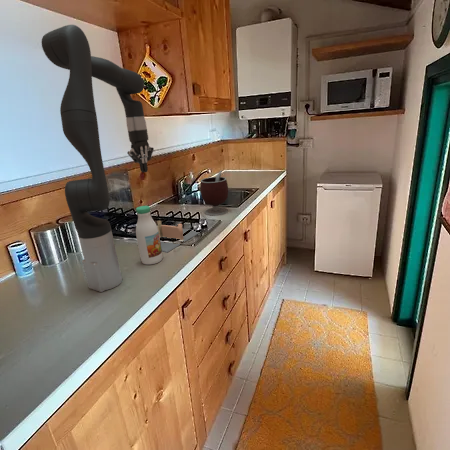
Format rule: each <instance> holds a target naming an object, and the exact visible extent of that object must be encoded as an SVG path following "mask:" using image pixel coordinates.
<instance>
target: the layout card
mask: <svg viewBox="0 0 450 450" xmlns="http://www.w3.org/2000/svg"><path fill="white" fill-rule="evenodd" d="M182 229H183V234H184V233H185V232H186V231H188V230H190V229H189V228H188V229H187V228H183V227H182ZM192 230H193V229H192ZM196 231H197V230H195V231H194V230H193V231H190V232H189V233H188V234H187V235H185V236H184V239H182V240H180V241H182V242H183V241H184V243H186V242H188V241H189V240H191V239H192V238H194V237H196V236H198V235H199V234H201V233H202V231H201V230H200V232H201V233H200V232H196ZM167 238H169V237H167ZM185 241H186V242H185ZM160 243H161V249H162V253H165V254H166V253H167V254H168V253H169V252H171V251H172V250H174V249H176V248H178V247H179V246H181V245H180V244H173V243H164V242H160Z"/></svg>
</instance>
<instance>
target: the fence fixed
mask: <svg viewBox="0 0 450 450" xmlns="http://www.w3.org/2000/svg"><path fill="white" fill-rule="evenodd" d="M156 222H157V223H156V224H157V228H158V232H159V237H163V234H162V228H161V225H163V224H162V220H157V221H156Z"/></svg>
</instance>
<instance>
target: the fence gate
mask: <svg viewBox="0 0 450 450" xmlns="http://www.w3.org/2000/svg"><path fill="white" fill-rule="evenodd" d="M161 228H162V234H163V237H169V238H176V239H180V240H182V239H184V236H183V229H184V228H183V224H182V223H178V224H177V226H175V225H166V224H162V225H161ZM182 228H183V229H182Z"/></svg>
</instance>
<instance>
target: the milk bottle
mask: <svg viewBox="0 0 450 450" xmlns="http://www.w3.org/2000/svg"><path fill="white" fill-rule="evenodd" d="M135 210H136V211H135V212H136V215H137V222H136V226H135V236H136V241H137V247H138V252H139V256H140V257H139V258H140V262H141V263H142V264H144V265H154V264H157V263H160V262H161V261H162V260H163V258H164V256H163V252H162V249H161V243H160V237H159V232H158V228H157V226H158V224H157V223H156V222H155V221H154V219H153V217H152V215H151V212H152V211H151V207H150V206H149V205H140V206H137V207H136V208H135Z"/></svg>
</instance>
